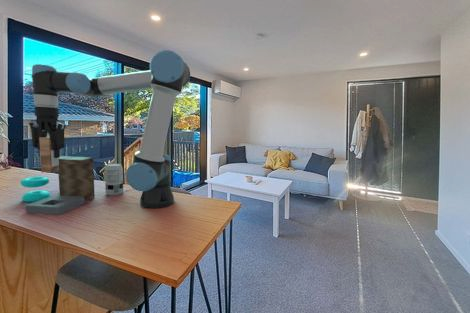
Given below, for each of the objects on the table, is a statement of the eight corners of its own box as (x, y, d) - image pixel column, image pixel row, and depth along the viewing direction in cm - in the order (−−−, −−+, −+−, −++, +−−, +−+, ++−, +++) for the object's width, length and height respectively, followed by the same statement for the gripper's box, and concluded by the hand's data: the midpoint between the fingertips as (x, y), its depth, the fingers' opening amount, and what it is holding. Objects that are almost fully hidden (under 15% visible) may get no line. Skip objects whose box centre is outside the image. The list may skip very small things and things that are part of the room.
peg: (50, 172, 95) (48, 137, 93) (41, 172, 95) (39, 137, 93) (58, 171, 99) (57, 137, 97) (49, 170, 99) (48, 136, 97)
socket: (84, 203, 108) (84, 196, 107) (59, 214, 94) (58, 207, 93) (55, 201, 109) (54, 195, 108) (26, 212, 95) (25, 205, 94)
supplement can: (102, 193, 122) (101, 165, 120) (116, 190, 130) (116, 163, 128) (112, 196, 119) (111, 166, 117) (126, 192, 126) (126, 164, 124)
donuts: (52, 175, 115) (42, 180, 106) (54, 195, 116) (44, 202, 107) (27, 176, 112) (15, 181, 103) (29, 196, 114) (17, 203, 104)
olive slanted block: (94, 198, 114) (93, 157, 112) (82, 204, 106) (79, 160, 103) (63, 196, 116) (60, 155, 113) (48, 202, 107) (45, 158, 105)
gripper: (74, 108, 97) (76, 165, 100) (34, 106, 98) (38, 162, 101) (59, 106, 89) (62, 168, 92) (16, 105, 91) (21, 165, 94)
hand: (49, 165), depth 97 cm, fingers closed on peg, 4 cm apart
